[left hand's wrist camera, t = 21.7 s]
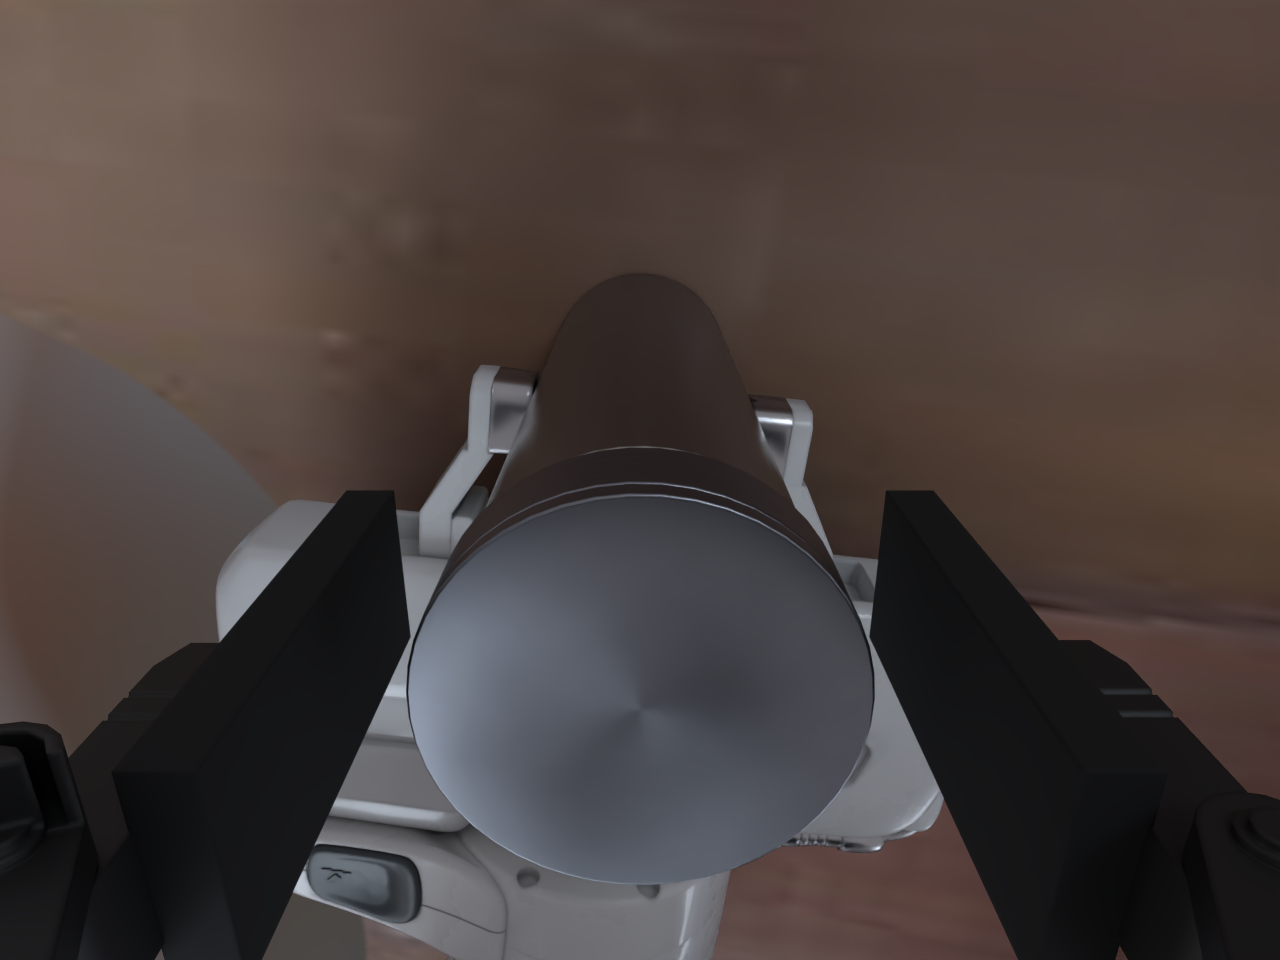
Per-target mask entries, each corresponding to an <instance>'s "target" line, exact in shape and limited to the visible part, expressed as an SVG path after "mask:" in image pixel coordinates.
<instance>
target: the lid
mask: <svg viewBox="0 0 1280 960" xmlns="http://www.w3.org/2000/svg"><path fill="white" fill-rule="evenodd" d="M406 696H407V706H408V716H409V721H410V725H411V728H412V732H413V736H414V740H415V744H416V746H417V748H418V751H419V753H420V755H421V758H422V760H423V762H424V765H425V767H426V769H427V770H428V772H429V774H430V775H431V777H432V779H433V780H434V782H435V784H436V785H437V787H438V788H439V790H440V791H441V792H442V793H443V795H444V796H445V797H446V798H447V800H448V801H449V802H450V803H451V805H452V806H453V807H454V808H455V809H456V810H457V811H458V812H459V813H460V814H461V815H462V816H463V817H464V818H465V819H466V820H467V821H468V822H469V823H470V824H471V825H472V826H473V827H475V828H476V829H477V830H479V831H480V832H481V833H483V834H484V835H485V836H487V837H488V838H489V839H491V840H492V841H493V842H495V843H496V844H498V845H500V846H501V847H503V848H505V849H507V850H508V851H510V852H512V853H513V854H515V855H517V856H519V857H521V858H523V859H525V860H528V861H530V862H532V863H534V864H537V865H539V866H541V867H544V868H547V869H550V870H553V871H556V872H559V873H562V874H565V875H568V876H573V877H577V878H582V879H587V880H591V881H596V882H605V883H614V884H623V885H655V884H667V883H678V882H684V881H689V880H694V879H700V878H705V877H709V876H712V875H715V874H719V873H722V872H726V871H729V870H732V869H735V868H737V867H739V866H742V865H744V864H747V863H749V862H752V861H754V860H756V859H758V858H760V857H762V856H764V855H766V854H767V853H769V852H771V851H773V850H775V849H777V848H778V847H780V846H782V845H783V844H785V843H786V842H787V841H789V840H790V839H792V838H793V837H795V836H796V835H797V834H799V833H800V832H802V831H803V830H804V829H805V828H806V827H807V826H808V825H810V824H811V823H812V822H813V821H814V820H815V819H816V818H817V817H818V816H820V815H821V814H822V813H823V811H824V810H825V809H826V808H827V807H828V806H829V805H830V803H831V802H832V801H833V800H834V799H835V798H836V796H837V795H838V794H839V793H840V791H841V790H842V788H843V787H844V785H845V783H846V782H847V780H848V779H849V777H850V776H851V774H852V773H853V771H854V769H855V767H856V764H857V762H858V760H859V758H860V756H861V754H862V752H863V750H864V746H865V743H866V740H867V736H868V733H869V730H870V727H871V722H872V715H873V708H874V701H875V674H874V667H873V662H872V656H871V650H870V646H869V643H868V640H867V637H866V634H865V631H864V628H863V625H862V622H861V620H860V618H859V616H858V613H857V611H856V609H855V607H854V605H853V603H852V600H851V598H850V596H849V594H848V592H847V590H846V587H845V585H844V583H843V581H842V579H841V576H840V574H839V572H838V570H837V568H836V566H835V563H834V562H833V560H832V558H831V556H830V554H829V552H828V550H827V548H826V546H825V544H824V542H823V541H822V539H821V538H820V537H819V535H818V534H817V533H816V531H815V530H814V528H813V527H812V526H811V524H810V523H809V522H808V520H807V519H806V518H805V517H804V516H803V515H802V514H801V513H800V512H799V511H798V510H797V509H796V508H795V507H794V506H793V505H792V504H791V503H790V502H789V501H788V500H787V499H785V498H784V497H783V496H781V495H780V494H779V493H778V492H776V491H775V490H774V489H772V488H771V487H770V486H769V485H767V484H765V483H764V482H762V481H760V480H758V479H757V478H755V477H753V476H752V475H750V474H748V473H746V472H745V471H743V470H740V469H738V468H735V467H733V466H731V465H728V464H726V463H723V462H721V461H719V460H716V459H712V458H709V457H705V456H701V455H698V454H694V453H690V452H685V451H678V450H670V449H663V448H634V447H629V448H620V449H611V450H601V451H597V452H592V453H588V454H584V455H580V456H575V457H571V458H569V459H566V460H563V461H561V462H558V463H555V464H553V465H550V466H547V467H545V468H543V469H541V470H539V471H537V472H535V473H533V474H532V475H530V476H528V477H526V478H524V479H522V480H520V481H519V482H517V483H516V484H515V485H513V486H512V487H510V488H509V489H508V490H506V491H505V492H503V493H502V494H501V495H499V496H498V497H497V498H496V499H495V500H494V501H492V502H491V503H490V504H489V505H488V506H487V507H486V508H485V509H484V510H483V511H482V512H481V513H480V514H479V515H478V516H477V517H476V518H475V520H474V521H473V522H472V523H471V525H470V526H469V527H468V528H467V530H466V531H465V532H464V534H463V535H462V536H461V538H460V540H459V542H458V543H457V545H456V547H455V548H454V550H453V552H452V554H451V555H450V557H449V559H448V561H447V564H446V566H445V568H444V570H443V572H442V575H441V577H440V579H439V581H438V583H437V585H436V588H435V590H434V592H433V594H432V596H431V599H430V601H429V603H428V605H427V607H426V610H425V612H424V614H423V616H422V619H421V621H420V624H419V627H418V629H417V632H416V634H415V637H414V639H413V643H412V648H411V652H410V657H409V661H408V666H407V684H406Z"/></svg>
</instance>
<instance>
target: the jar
mask: <svg viewBox="0 0 1280 960" xmlns="http://www.w3.org/2000/svg"><path fill="white" fill-rule="evenodd" d="M629 447H634V448H663V449H670V450H678V451H685V452H690V453H694V454H698V455H701V456H705V457H709V458H712V459H716V460H719V461H721V462H723V463H726V464H728V465H731V466H733V467H735V468H738V469H740V470H743V471H745V472H746V473H748V474H750V475H752V476H753V477H755V478H757V479H758V480H760V481H762V482H764V483H765V484H767V485H769V486H770V487H771V488H772V489H774V490H775V491H776V492H778V493H779V494H780V495H781V496H783V497H784V498H785V499H787V500H788V501H789V502H790V503H791V504H792V505H793V506H794V504H793V501H792V499H791V496H790V494H789V492H788V489H787V487H786V485H785V482H784V480H783V478H782V475H781V473H780V470H779V468H778V466H777V463H776V461H775V459H774V456H773V454H772V452H771V449H770V447H769V444H768V442H767V440H766V437H765V435H764V433H763V430H762V428H761V425H760V423H759V421H758V418H757V416H756V414H755V411H754V409H753V407H752V404H751V402H750V399H749V397H748V395H747V392H746V390H745V388H744V385H743V383H742V381H741V378H740V376H739V373H738V371H737V369H736V366H735V364H734V362H733V359H732V357H731V355H730V352H729V350H728V347H727V345H726V343H725V340H724V338H723V336H722V333H721V331H720V329H719V326H718V324H717V322H716V319H715V318H714V316H713V314H712V313H711V311H710V309H709V308H708V307H707V306H706V304H705V303H704V302H703V301H702V300H701V299H700V298H699V297H698V296H697V295H696V294H695V293H694V292H692V291H691V290H690V289H688V288H687V287H685V286H683V285H682V284H680V283H678V282H676V281H674V280H671V279H668V278H666V277H662V276H657V275H652V274H629V275H623V276H619V277H615V278H612V279H609V280H607V281H605V282H603V283H601V284H599V285H597V286H595V287H594V288H592V289H591V290H589V291H588V292H587V293H586V294H585V295H583V296H582V297H581V298H580V299H579V300H578V301H577V303H576V304H575V305H574V306H573V307H572V309H571V310H570V312H569V313H568V315H567V317H566V319H565V321H564V323H563V325H562V327H561V329H560V332H559V334H558V336H557V339H556V341H555V344H554V346H553V348H552V351H551V353H550V355H549V358H548V360H547V363H546V365H545V367H544V370H543V372H542V374H541V377H540V379H539V382H538V384H537V386H536V389H535V391H534V393H533V396H532V398H531V401H530V403H529V405H528V408H527V410H526V412H525V415H524V417H523V420H522V422H521V424H520V427H519V429H518V431H517V434H516V436H515V439H514V441H513V443H512V446H511V448H510V450H509V453H508V455H507V458H506V460H505V462H504V465H503V467H502V469H501V472H500V474H499V477H498V479H497V481H496V484H495V486H494V488H493V491H492V493H491V496H490V498H489V500H488V503H487V505H486V507H487V506H488V505H489V504H490V503H491V502H492V501H494V500H495V499H496V498H497V497H498V496H499V495H501V494H502V493H503V492H505V491H506V490H508V489H509V488H510V487H512V486H513V485H515V484H516V483H517V482H519V481H520V480H522V479H524V478H526V477H528V476H530V475H532V474H533V473H535V472H537V471H539V470H541V469H543V468H545V467H547V466H550V465H553V464H555V463H558V462H561V461H563V460H566V459H569V458H571V457H575V456H580V455H584V454H588V453H592V452H597V451H601V450H611V449H620V448H629ZM486 507H485V508H486ZM794 507H795V506H794Z"/></svg>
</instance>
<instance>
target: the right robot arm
mask: <svg viewBox="0 0 1280 960" xmlns="http://www.w3.org/2000/svg"><path fill="white" fill-rule="evenodd" d="M538 382H539V372H538V371H530V370H522V369H514V368H507V367H500V366H493V365H480V367H479V368H478V369H477V371H476V372H475V374H474V375H473V380H472V385H471V391H470V400H469V424H468V438H467V440H466V441H465V443H464V444H463V445H462V447H461V448H460V450H459V451H458V453H457V454H456V456H455V457H454V458H453V460H452V461H451V463H450V464H449V466H448V467H447V468H446V470H445V471H444V473H443V474H442V476H441V477H440V479H439V480H438V482H437V483H436V485H435V487H434V488H433V490H432V492H431V493H430V495H429V497H428V498H427V500H426V502H425V503H424V505H423V507H422V508H421V510H420V512H415V511H405V510H396V513H397V522H398V531H399V539H400V548H401V557H402V565H403V574H404V583H405V591H406V600H407V609H408V617H409V626H410V635H411V637H410V640H409V642H408V644H407V646H406V648H405V650H404V653H403V655H402V657H401V659H400V661H399V663H398V666H397V668H396V670H395V672H394V674H393V676H392V679H391V681H390V683H389V685H388V687H387V689H386V692H385V694H384V696H383V698H382V700H381V702H380V705H379V707H378V709H377V711H376V713H375V715H374V718H373V720H372V722H371V724H370V726H369V728H368V731H367V733H366V735H365V737H364V739H363V741H362V744H361V746H360V748H359V750H358V752H357V754H356V757H355V759H354V761H353V763H352V765H351V767H350V770H349V772H348V774H347V776H346V778H345V780H344V783H343V785H342V787H341V789H340V791H339V793H338V796H337V798H336V800H335V802H334V804H333V806H332V809H331V811H330V813H329V815H328V817H327V819H326V822H325V824H324V826H323V828H322V830H321V832H320V835H319V837H318V839H317V841H316V843H315V845H314V848H313V850H312V852H311V854H310V856H309V858H308V861H307V863H306V865H305V867H304V869H303V871H302V874H301V876H300V878H299V880H298V882H297V884H296V887H295V889H294V891H293V893H295V894H298V895H301V896H304V897H307V898H310V899H313V900H316V901H319V902H322V903H325V904H328V905H331V906H335V907H337V908H340V909H343V910H346V911H349V912H352V913H355V914H358V915H360V916H363V917H366V918H368V919H371V920H374V921H376V922H379V923H381V924H384V925H386V926H389V927H391V928H393V929H396V930H398V931H401V932H403V933H405V934H407V935H409V936H411V937H413V938H416V939H418V940H420V941H422V942H424V943H426V944H428V945H429V946H431V947H433V948H435V949H437V950H439V951H440V952H442V953H444V954H446V955H448V957H447V959H446V960H711V958H712V955H713V952H714V949H715V945H716V941H717V936H718V931H719V926H720V922H721V917H722V912H723V907H724V902H725V897H726V892H727V887H728V882H729V877H730V872H731V870H729V871H726V872H722V873H719V874H715V875H712V876H709V877H705V878H700V879H694V880H689V881H684V882H678V883H667V884H655V885H623V884H614V883H605V882H596V881H591V880H587V879H582V878H577V877H573V876H568V875H565V874H562V873H559V872H556V871H553V870H550V869H547V868H544V867H541V866H539V865H537V864H534V863H532V862H530V861H528V860H525V859H523V858H521V857H519V856H517V855H515V854H513V853H512V852H510V851H508V850H507V849H505V848H503V847H501V846H500V845H498V844H496V843H495V842H493V841H492V840H491V839H489V838H488V837H487V836H485V835H484V834H483V833H481V832H480V831H479V830H477V829H476V828H475V827H473V826H472V825H471V824H470V823H469V822H468V821H467V820H466V819H465V818H464V817H463V816H462V815H461V814H460V813H459V812H458V811H457V810H456V809H455V808H454V807H453V806H452V805H451V803H450V802H449V801H448V800H447V798H446V797H445V796H444V795H443V793H442V792H441V791H440V790H439V788H438V787H437V785H436V784H435V782H434V780H433V779H432V777H431V775H430V774H429V772H428V770H427V769H426V767H425V765H424V762H423V760H422V758H421V755H420V753H419V751H418V748H417V746H416V744H415V740H414V736H413V732H412V728H411V725H410V721H409V716H408V706H407V696H406V684H407V666H408V661H409V657H410V652H411V648H412V643H413V639H414V637H415V634H416V632H417V629H418V627H419V624H420V621H421V619H422V616H423V614H424V612H425V610H426V607H427V605H428V603H429V601H430V599H431V596H432V594H433V592H434V590H435V588H436V585H437V583H438V581H439V579H440V577H441V575H442V572H443V570H444V568H445V566H446V564H447V561H448V559H449V557H450V555H451V554H452V552H453V550H454V548H455V547H456V545H457V543H458V542H459V540H460V538H461V536H462V535H463V534H464V532H465V531H466V530H467V528H468V527H469V526H470V525H471V523H472V522H473V521H474V520H475V518H476V517H477V516H478V515H479V514H480V513H481V512H482V511H483V510H484V509H485V507H486V505H487V503H488V490H487V488H486V487H485V486H476V485H472V484H473V483H474V482H475V480H476V479H477V477H478V476H479V474H480V473H481V472H482V470H483V469H484V467H485V466H486V464H487V463H488V462H489V460H490V459H491V457H492V456H493V454H494V453H502V454H508V453H509V450H510V448H511V446H512V443H513V441H514V439H515V436H516V434H517V431H518V429H519V427H520V424H521V422H522V420H523V417H524V415H525V412H526V410H527V408H528V405H529V403H530V401H531V398H532V396H533V393H534V391H535V389H536V386H537V384H538ZM748 397H749V399H750V402H751V404H752V407H753V409H754V411H755V414H756V416H757V418H758V421H759V423H760V425H761V428H762V430H763V433H764V435H765V437H766V440H767V442H768V444H769V447H770V449H771V452H772V454H773V456H774V459H775V461H776V463H777V466H778V468H779V470H780V473H781V475H782V478H783V480H784V482H785V485H786V487H787V489H788V492H789V494H790V496H791V499H792V501H793V504H794V506H795V508H796V509H797V510H798V511H799V512H800V513H801V514H802V515H803V516H804V517H805V518H806V519H807V520H808V522H809V523H810V524H811V526H812V527H813V528H814V530H815V531H816V533H817V534H818V535H819V537H820V538H821V539H822V541H823V542H824V544H825V546H826V548H827V550H828V552H829V554H830V556H831V558H832V560H833V562H834V563H835V566H836V568H837V570H838V572H839V574H840V576H841V579H842V581H843V583H844V585H845V587H846V590H847V592H848V594H849V596H850V598H851V600H852V603H853V605H854V607H855V609H856V611H857V613H858V616H859V618H860V620H861V622H862V625H863V628H864V631H865V634H866V637H867V640H868V643H869V646H870V650H871V656H872V662H873V667H874V674H875V701H874V708H873V715H872V722H871V727H870V730H869V733H868V736H867V740H866V743H865V746H864V750H863V752H862V754H861V756H860V758H859V760H858V762H857V764H856V767H855V769H854V771H853V773H852V774H851V776H850V777H849V779H848V780H847V782H846V783H845V785H844V787H843V788H842V790H841V791H840V793H839V794H838V795H837V796H836V798H835V799H834V800H833V801H832V802H831V803H830V805H829V806H828V807H827V808H826V809H825V810H824V811H823V813H822V814H821V815H820V816H818V817H817V818H816V819H815V820H814V821H813V822H812V823H811V824H810V825H808V826H807V827H806V828H805V829H804V830H803V831H802V832H800V833H799V834H797V835H796V836H795V837H793V838H792V839H790V840H789V841H787V842H786V843H785V844H783V845H782V846H790V847H797V846H806V845H807V846H814V845H815V846H825V847H836V848H837V849H838V850H841V851H845V852H852V853H871V852H876V851H880V850H881V849H882V848H883V845H884V841H893V840H898V839H901V838H905V837H907V836H909V835H912V834H914V833H915V832H917V831H920V832H921V831H925V830H927V829H929V828H930V826H931V825H932V824H933V823H934V822H935V820H936V819H937V817H938V815H939V813H940V810H941V807H942V803H943V800H944V798H943V796H942V793H941V791H940V789H939V787H938V785H937V783H936V780H935V778H934V776H933V774H932V772H931V770H930V767H929V765H928V763H927V761H926V759H925V757H924V754H923V752H922V750H921V748H920V746H919V744H918V741H917V739H916V737H915V735H914V733H913V731H912V728H911V726H910V724H909V722H908V720H907V718H906V715H905V713H904V711H903V709H902V707H901V705H900V702H899V700H898V698H897V696H896V694H895V692H894V689H893V687H892V685H891V683H890V681H889V679H888V676H887V674H886V672H885V670H884V668H883V666H882V663H881V661H880V659H879V657H878V655H877V653H876V650H875V648H874V646H873V644H872V642H871V640H870V637H869V634H870V626H871V617H872V609H873V600H874V591H875V583H876V574H877V565H878V559H870V558H860V557H850V556H840V555H833V553H832V551H831V548H830V546H829V543H828V540H827V538H826V535H825V533H824V530H823V527H822V525H821V522H820V520H819V517H818V514H817V512H816V509H815V507H814V504H813V501H812V499H811V496H810V494H809V491H808V488H807V486H806V484H805V482H804V480H803V478H804V472H805V467H806V462H807V457H808V452H809V447H810V442H811V437H812V432H813V414H812V411H811V409H810V408H809V406H808V405H807V403H806V402H805V400H798V399H789V398H780V397H770V396H760V395H750V394H748ZM335 504H336V503H328V502H320V501H311V500H292V501H289V502H286V503H284V504H283V505H281V506H280V507H278V508H277V509H276V510H275V511H274V512H273V513H271V514H270V515H269V516H268V517H267V518H266V519H264V520H263V521H262V522H261V523H260V524H259V525H257V526H256V527H255V528H254V529H253V530H252V531H251V532H250V533H249V534H248V535H247V536H246V537H245V538H244V539H243V540H242V541H241V543H240V544H239V545H238V546H237V547H236V548H235V550H234V551H233V552H232V553H231V554H230V556H229V557H228V559H227V560H226V562H225V563H224V565H223V567H222V569H221V571H220V574H219V577H218V580H217V586H216V615H217V626H218V635H219V642H220V641H221V640H222V639H223V638H224V636H225V635H226V634H227V633H228V632H229V630H230V629H231V628H232V627H233V626H234V625H235V623H236V622H237V621H238V620H239V619H240V617H241V616H242V615H243V614H244V613H245V611H246V610H247V609H248V608H249V607H250V605H251V604H252V603H253V602H254V601H255V599H256V598H257V597H258V596H259V595H260V593H261V592H262V591H263V590H264V589H265V588H266V586H267V585H268V584H269V583H270V582H271V580H272V579H273V578H274V577H275V576H276V574H277V573H278V572H279V571H280V570H281V568H282V567H283V566H284V565H285V564H286V562H287V561H288V560H289V559H290V558H291V556H292V555H293V554H294V553H295V552H296V551H297V549H298V548H299V547H300V546H301V545H302V543H303V542H304V541H305V540H306V539H307V537H308V536H309V535H310V534H311V533H312V531H313V530H314V529H315V528H316V527H317V525H318V524H319V523H320V522H321V521H322V519H323V518H324V517H325V516H326V515H327V513H328V512H329V511H330V510H331V509H332V508H333V506H334V505H335Z"/></svg>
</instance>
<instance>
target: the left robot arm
mask: <svg viewBox="0 0 1280 960" xmlns="http://www.w3.org/2000/svg"><path fill="white" fill-rule="evenodd" d="M410 637H411V635H410V626H409V617H408V609H407V600H406V591H405V583H404V574H403V565H402V557H401V548H400V539H399V531H398V522H397V513H396V505H395V496H394V491H346V492H345V493H344V494H343V496H342V497H341V498H340V499H339V500H338V502H337V503H336V504H335V505H334V506H333V508H332V509H331V510H330V511H329V512H328V513H327V515H326V516H325V517H324V518H323V519H322V521H321V522H320V523H319V524H318V525H317V527H316V528H315V529H314V530H313V531H312V533H311V534H310V535H309V536H308V537H307V539H306V540H305V541H304V542H303V543H302V545H301V546H300V547H299V548H298V549H297V551H296V552H295V553H294V554H293V555H292V556H291V558H290V559H289V560H288V561H287V562H286V564H285V565H284V566H283V567H282V568H281V570H280V571H279V572H278V573H277V574H276V576H275V577H274V578H273V579H272V580H271V582H270V583H269V584H268V585H267V586H266V588H265V589H264V590H263V591H262V592H261V593H260V595H259V596H258V597H257V598H256V599H255V601H254V602H253V603H252V604H251V605H250V607H249V608H248V609H247V610H246V611H245V613H244V614H243V615H242V616H241V617H240V619H239V620H238V621H237V622H236V623H235V625H234V626H233V627H232V628H231V629H230V630H229V632H228V633H227V634H226V635H225V636H224V638H223V639H222V640H221V641H220V642H219V643H190V644H188V645H187V646H185V647H183V648H182V649H180V650H179V651H177V652H175V653H174V654H172V655H171V656H169V657H167V658H166V659H164V660H162V661H161V662H159V663H158V664H156V665H154V666H153V667H152V668H151V669H150V670H149V671H148V673H147V674H146V675H145V676H144V677H143V678H142V679H141V680H140V681H139V682H138V683H137V684H136V686H135V687H134V688H133V689H132V690H131V691H130V692H129V697H128V698H123V700H122V701H121V702H120V703H119V704H118V705H117V706H116V707H115V708H114V709H113V710H112V712H110V714H109V715H108V720H107V721H102V722H101V723H100V724H99V725H98V727H97V728H96V729H95V730H94V731H93V732H92V733H91V734H90V735H89V736H88V737H87V738H86V740H85V741H84V742H83V743H82V744H81V745H80V746H79V747H78V748H77V749H76V750H75V751H74V753H73V754H72V755H71V756H70V757H69V758H68V756H67V753H66V749H65V746H64V743H63V740H62V736H61V734H59V733H58V732H57V731H55V730H54V729H52V728H51V727H50V726H48V725H45V724H38V723H30V722H15V723H7V724H0V960H155V958H156V956H157V955H158V953H159V951H160V950H161V948H162V952H163V955H164V959H165V960H262V958H263V956H264V954H265V952H266V949H267V947H268V945H269V943H270V941H271V939H272V936H273V934H274V932H275V930H276V928H277V926H278V923H279V921H280V919H281V917H282V915H283V913H284V910H285V908H286V906H287V904H288V902H289V899H290V897H291V895H292V893H293V891H294V889H295V887H296V884H297V882H298V880H299V878H300V876H301V874H302V871H303V869H304V867H305V865H306V863H307V861H308V858H309V856H310V854H311V852H312V850H313V848H314V845H315V843H316V841H317V839H318V837H319V835H320V832H321V830H322V828H323V826H324V824H325V822H326V819H327V817H328V815H329V813H330V811H331V809H332V806H333V804H334V802H335V800H336V798H337V796H338V793H339V791H340V789H341V787H342V785H343V783H344V780H345V778H346V776H347V774H348V772H349V770H350V767H351V765H352V763H353V761H354V759H355V757H356V754H357V752H358V750H359V748H360V746H361V744H362V741H363V739H364V737H365V735H366V733H367V731H368V728H369V726H370V724H371V722H372V720H373V718H374V715H375V713H376V711H377V709H378V707H379V705H380V702H381V700H382V698H383V696H384V694H385V692H386V689H387V687H388V685H389V683H390V681H391V679H392V676H393V674H394V672H395V670H396V668H397V666H398V663H399V661H400V659H401V657H402V655H403V653H404V650H405V648H406V646H407V644H408V642H409V640H410ZM869 637H870V640H871V642H872V644H873V646H874V648H875V650H876V653H877V655H878V657H879V659H880V661H881V663H882V666H883V668H884V670H885V672H886V674H887V676H888V679H889V681H890V683H891V685H892V687H893V689H894V692H895V694H896V696H897V698H898V700H899V702H900V705H901V707H902V709H903V711H904V713H905V715H906V718H907V720H908V722H909V724H910V726H911V728H912V731H913V733H914V735H915V737H916V739H917V741H918V744H919V746H920V748H921V750H922V752H923V754H924V757H925V759H926V761H927V763H928V765H929V767H930V770H931V772H932V774H933V776H934V778H935V780H936V783H937V785H938V787H939V789H940V791H941V793H942V796H943V798H944V800H945V802H946V804H947V806H948V809H949V811H950V813H951V815H952V817H953V819H954V822H955V824H956V826H957V828H958V830H959V832H960V835H961V837H962V839H963V841H964V843H965V845H966V848H967V850H968V852H969V854H970V856H971V858H972V861H973V863H974V865H975V867H976V869H977V871H978V874H979V876H980V878H981V880H982V882H983V884H984V887H985V889H986V891H987V893H988V895H989V897H990V900H991V902H992V904H993V906H994V908H995V910H996V913H997V915H998V917H999V919H1000V921H1001V923H1002V926H1003V928H1004V930H1005V932H1006V934H1007V936H1008V939H1009V941H1010V943H1011V945H1012V947H1013V949H1014V952H1015V954H1016V956H1017V958H1018V960H1115V959H1116V955H1117V952H1118V948H1119V945H1120V947H1121V948H1122V950H1123V952H1124V953H1125V955H1126V957H1127V959H1128V960H1280V800H1278V799H1275V798H1272V797H1269V796H1266V795H1261V794H1254V793H1248V792H1247V791H1246V790H1245V789H1244V788H1243V787H1242V786H1241V785H1240V784H1239V783H1238V782H1237V780H1236V779H1235V778H1234V777H1233V776H1232V775H1231V774H1230V773H1229V772H1228V771H1227V770H1226V769H1225V768H1224V767H1223V765H1222V764H1221V763H1220V762H1219V761H1218V760H1217V759H1216V758H1215V757H1214V756H1213V755H1212V754H1211V753H1210V751H1209V750H1208V749H1207V748H1206V747H1205V746H1204V745H1203V744H1202V743H1201V742H1200V741H1199V740H1198V739H1197V738H1196V736H1195V735H1194V734H1193V733H1192V732H1191V731H1190V730H1189V729H1188V728H1187V727H1186V726H1185V725H1184V724H1183V723H1182V721H1181V720H1180V719H1179V718H1174V717H1173V712H1172V711H1171V710H1170V709H1169V708H1168V706H1167V705H1166V704H1165V703H1164V702H1163V701H1162V700H1161V699H1160V698H1159V697H1158V696H1157V695H1152V689H1151V688H1150V687H1149V686H1148V685H1147V684H1146V683H1145V682H1144V681H1143V680H1142V679H1141V677H1140V676H1139V675H1138V674H1137V673H1136V672H1135V671H1134V670H1133V669H1132V668H1131V667H1130V666H1129V665H1128V664H1127V663H1126V662H1125V661H1123V660H1121V659H1120V658H1118V657H1116V656H1115V655H1113V654H1111V653H1110V652H1108V651H1107V650H1105V649H1103V648H1102V647H1100V646H1098V645H1097V644H1095V643H1093V642H1092V641H1090V640H1058V639H1057V638H1056V636H1055V635H1054V634H1053V633H1052V632H1051V631H1050V629H1049V628H1048V627H1047V626H1046V625H1045V623H1044V622H1043V621H1042V620H1041V619H1040V617H1039V616H1038V615H1037V614H1036V613H1035V611H1034V610H1033V609H1032V608H1031V607H1030V605H1029V604H1028V603H1027V602H1026V601H1025V599H1024V598H1023V597H1022V596H1021V595H1020V593H1019V592H1018V591H1017V590H1016V589H1015V588H1014V586H1013V585H1012V584H1011V583H1010V582H1009V580H1008V579H1007V578H1006V577H1005V576H1004V574H1003V573H1002V572H1001V571H1000V570H999V568H998V567H997V566H996V565H995V564H994V562H993V561H992V560H991V559H990V558H989V556H988V555H987V554H986V553H985V552H984V551H983V549H982V548H981V547H980V546H979V545H978V543H977V542H976V541H975V540H974V539H973V537H972V536H971V535H970V534H969V533H968V531H967V530H966V529H965V528H964V527H963V525H962V524H961V523H960V522H959V521H958V519H957V518H956V517H955V516H954V515H953V513H952V512H951V511H950V510H949V509H948V508H947V506H946V505H945V504H944V503H943V502H942V500H941V499H940V498H939V497H938V496H937V494H936V493H935V492H934V491H886V496H885V505H884V513H883V522H882V531H881V539H880V548H879V557H878V565H877V574H876V583H875V591H874V600H873V609H872V617H871V626H870V634H869Z"/></svg>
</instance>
